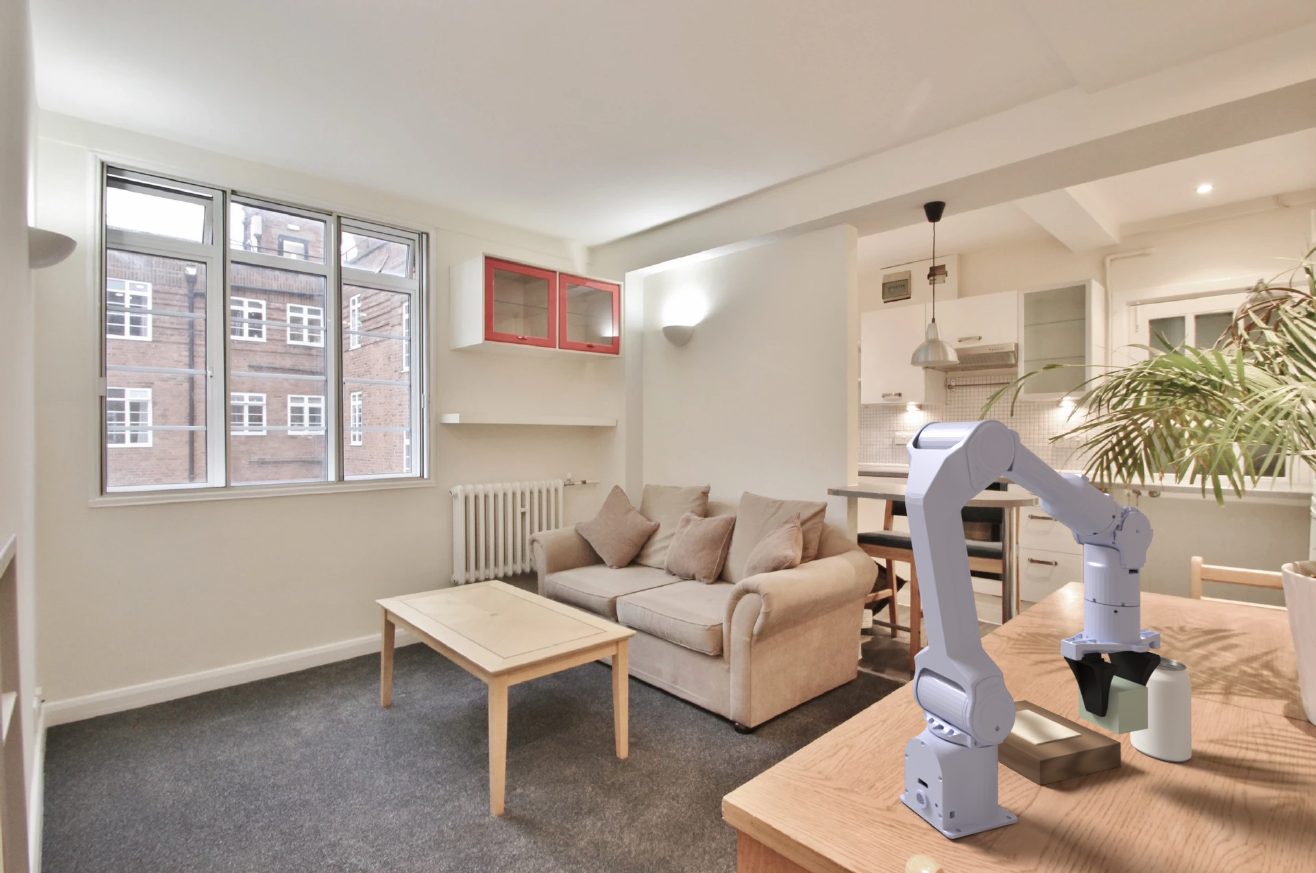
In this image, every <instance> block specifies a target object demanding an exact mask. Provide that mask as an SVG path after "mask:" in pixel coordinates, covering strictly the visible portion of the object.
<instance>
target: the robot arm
mask: <svg viewBox="0 0 1316 873" xmlns="http://www.w3.org/2000/svg"><path fill="white" fill-rule="evenodd" d="M905 448H906V455H907V461H908V467H909V471H908V476H907V480H906V487H905V492H904V502H905V503H904V504H905V508H906V515H907V521H908V523H907V524H908V528H909V534H910V540H911V547H912V551H913V558H914V564H915V571H916V577H917V583H918V590H919V595H920V601H921V609H922V614H923V620H924V621H923V622H924V626H925V632H926V638H927V639H926V640H927V646H925V647H924V648H922V649H921V650H919V652H918V653H917V654H915V656H914V657H913V658H914V659H913V660H914V664H915V671H914V676H913V682H912V695H913V698H914V701H915V702H916V705H918V707H919V708H920V709H922V710H923V715H922V717H923V720H924V721H925V722H926V727H925V729H924V730H923V731H922V732H920V734H918V735H916V736H914V737H912V738H910V739H909V740H908V741H907V743H906V745H905V748H904V793H902V794H900V795H899V800H900V801H901V802H902V803H904V805H906V806H907V807H908V808H910V809H911V810H912V811H913V812H915V813H916V814H918V815H919V816H920V817H922V819H924V820H925V821H926V822H928V823H929V824H931V826H933V827H935V828H936V829H937V830H938V831H940V833H942V834H943V835H944V836H946V837H947V838H948V839H953V840H954V839H957V838H960V837H961V838H962V837H965V836H970V835H973V834H977V833H982V832H985V831H989V830H993V829H996V828H1000V827H1004V826H1008V825H1012V824H1015V823H1018V817H1017V816H1016V815H1015V814H1014V813H1012V812H1010V811H1009V810H1007V809H1006V808H1004V807H1002V806H1001V805H999V762H998V744H999V743H1003V740H1004V739H1005V738H1006V737H1007V736H1008V735H1009V733H1010V732H1011V730H1012V728H1013V726H1014V723H1015V717H1016V707H1015V703H1014V702H1015V699H1014V696H1012V694H1011V693H1010V691H1009V690H1008V688H1007V686H1006V683H1005V679H1004V672H1003V671H1002V669H1001V668H1000V667H999V666H998V665H997V663H996V662H995V661H994V660H993V659H992V657H991V656H990V655H989V653H987V652H986V650H985V649H984V647H983V646H982V645H983V644H982V638H981V630H980V625H979V619H978V613H977V605H976V601H975V600H976V598H975V594H974V587H973V582H972V581H973V580H972V575H971V568H970V562H969V555H968V548H967V543H966V537H965V536H966V535H965V531H964V524H963V518H962V509H963V508H964V507H965V506H966V504H967V503H968V501H969V500H972V499H974V498H976V496H977V495H979V494H980V493H982V492H983V491H984V490H986V488H988V487H989V486H990V485H992V484H993V483H994V482H996V480H998V479H999V478H1000V477H1004V478H1005V479H1007V480H1009V481H1011V482H1013V483H1015V484H1016V485H1018V486H1019V487H1021V488H1023V489H1025V490H1026V491H1028V492H1030V493H1032V494H1033V495H1034V496H1036V497H1038V503H1039V507H1040V509H1041V510H1042V511H1043V512H1044V513H1045V514H1047V515H1048V516H1050V517H1051V518H1053V519H1055V520H1056V521H1057V522H1059V523H1061V524H1062V525H1064V526H1065V527H1067V528H1068V529H1069V530H1070V532H1071V535H1072V537H1073V540H1074V541H1075V542H1076V544H1077V545H1080V546H1081V545H1082V546H1083V630H1082V631H1080V632H1078V633H1077V634H1074V635H1072V636H1071V637H1068V638H1064V639H1060V655H1061V656H1063V658H1064V660H1065V662H1066V663H1067V665H1068V666H1069V668H1070V671H1071V672H1072V674H1073V675H1074V677H1075V680H1076V683H1077V685H1078V686H1079V688H1080V692H1081V695H1082V699H1083V702H1084V706H1085V709H1086V711H1087V712H1090V713H1092V714H1095V715H1097V716H1099V717H1105V716H1106V713H1107V709H1108V699H1109V690H1110V686H1111V682H1112V679H1113V677H1114V676H1117V677H1120V678H1123V679H1126V680H1128V681H1131V682H1134V683H1137V684H1140V685H1143V686H1145V687H1146V684H1147V682H1148V680H1149V678H1150V676H1151V675H1152V673H1153V672H1154V670H1155V669H1156V668H1157V666H1158V665H1159V664H1160V663H1161V657H1162V656H1161V655H1160V654H1157V653H1155V652H1151V650H1150V649H1153V650H1158V649H1161V633H1160V632H1157V631H1153V630H1149V629H1145V628H1141V568H1144V567H1145V564H1146V563H1147V551H1148V549H1149V547H1150V545H1151V543H1152V541H1153V536H1154V529H1153V528H1151V527H1152V526H1151V522H1150V520H1149V518H1148V516H1147V515H1146V514H1144V513H1143V512H1142V511H1140V510H1139V509H1138V508H1136V507H1134V506H1127V505H1124V506H1123V505H1121V504H1120V503H1118V502H1117V501H1115V500H1114V498H1115V497H1114V496H1112V495H1111V494H1110V493H1105V492H1102V491H1101V490H1099V489H1098V488H1097V487H1095V486H1094V485H1092V484H1091V483H1089V481H1090V477H1088V476H1087V475H1085V474H1084V473H1072V472H1070V473H1061V474H1060V473H1058V472H1057V471H1056V470H1055V469H1053V468H1052V467H1051V466H1050V465H1048V464H1047V462H1045V461H1044V460H1042V458H1040V457H1039V456H1037V454H1035V453H1034V452H1033V451H1031V449H1029V448H1028V447H1027V446H1025V445H1024V444H1023V443H1022V442H1021V437H1020V433H1019V432H1018V431H1016V430H1013V429H1011V428H1009V427H1008V426H1007V425H1006V424H1005V423H1003V422H1002V421H999V420H997V419H991V418H990V419H982V420H976V421H973V420H972V421H971V420H970V421H949V422H947V421H946V422H941V421H929V422H927V423H925V424H922V425H921V426H920V427H918V429H917V431H916V432H915V433H914V434H913V436H912V437H911V438H910V439H909V441H908V443H907V444H906V446H905ZM1105 654H1107V656H1108V658H1109V662H1108V661H1105V659H1106V658H1104V657H1103V656H1102V655H1105Z"/></svg>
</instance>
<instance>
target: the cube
mask: <svg viewBox="0 0 1316 873" xmlns="http://www.w3.org/2000/svg"><path fill="white" fill-rule="evenodd" d="M1077 694H1078V718H1080V719H1082V720H1085V721H1087V722H1088V723H1091V724H1094V725H1096V726H1098V727H1100V728H1102V729H1104V730H1107V731H1109V732H1112V733H1114V734H1117V735H1122V734H1130V732H1134V731H1139V730H1144V729H1148V687H1145V686H1143V685H1140V684H1137V683H1134V682H1131V681H1128V680H1126V679H1123V678H1120V677H1117V676H1114V677H1113V679H1112V682H1111V686H1110V690H1109V699H1108V709H1107V713H1106V716H1105V717H1099V716H1097V715H1095V714H1092V713H1090V712H1087V711H1086V709H1085V706H1084V702H1083V699H1082V695H1081V692H1080V688H1079V686H1078V692H1077Z"/></svg>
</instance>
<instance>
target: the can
mask: <svg viewBox="0 0 1316 873" xmlns="http://www.w3.org/2000/svg"><path fill="white" fill-rule="evenodd" d="M1160 657H1161V663H1160V664H1159V665H1158V666H1157V668H1156V669H1155V670H1154V672H1153V673H1152V675H1151V676H1150V678H1149V680H1148V682H1147V684H1146V687H1148V729H1144V730H1139V731H1134V732H1129V736H1130V737H1129V739H1130V743H1131V745H1132V746H1133V748H1134V749H1135V750H1136V751H1137V752H1139V753H1141V754H1143V755H1145V756H1148V757H1150V758H1153V759H1156V760H1159V761H1164V762H1170V763H1185V762H1187V761H1188V760H1190V759H1191V758H1192V746H1193V745H1192V743H1193V742H1192V681H1191V677H1190V675H1189V674H1188V671H1187V669H1188V667H1187V664H1184V663H1182V662H1181V661H1178V660H1175V659H1172V658H1168V657H1163V656H1160Z"/></svg>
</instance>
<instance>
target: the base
mask: <svg viewBox="0 0 1316 873" xmlns="http://www.w3.org/2000/svg"><path fill="white" fill-rule="evenodd" d="M1014 703H1015V707H1016V717H1015V723H1014V726H1013V728H1012V730H1011V732H1010V733H1009V735H1008V736H1007V737H1006V738H1005V739H1004V740H1003V743H999V744H998V763H1000V764H1002V765H1004V766H1005V767H1007V768H1009V769H1011V770H1013V771H1014V772H1016V773H1018V774H1019V775H1021V776H1023V777H1025V778H1026V779H1028V780H1030V781H1032V782H1034V784H1037V785H1038V786H1042V785H1046V784H1050V783H1055V782H1059V781H1063V780H1068V779H1071V778H1072V779H1073V778H1075V777H1081V776H1084V775H1088V774H1093V773H1096V772H1097V773H1098V772H1102V771H1105V770H1110V769H1114V768H1118V767H1121V765H1122V763H1121V762H1122V751H1121V749H1122V747H1121V746H1122V745H1121V744H1122V743H1121V742H1120V741H1118V740H1116V739H1113V738H1111V737H1110V736H1107V735H1105V734H1102V733H1101V732H1099V731H1095V730H1094V729H1091V728H1090V727H1087V726H1085V725H1082V724H1080V723H1078V722H1076V721H1073V720H1071V719H1069V718H1067V717H1064V716H1062V715H1059V714H1057V713H1055V712H1053V711H1050V710H1048V709H1046V708H1044V707H1041V706H1039V705H1038V704H1035V703H1032V702H1030V701H1028V700H1026V699H1025V700H1018V701H1014Z"/></svg>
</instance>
